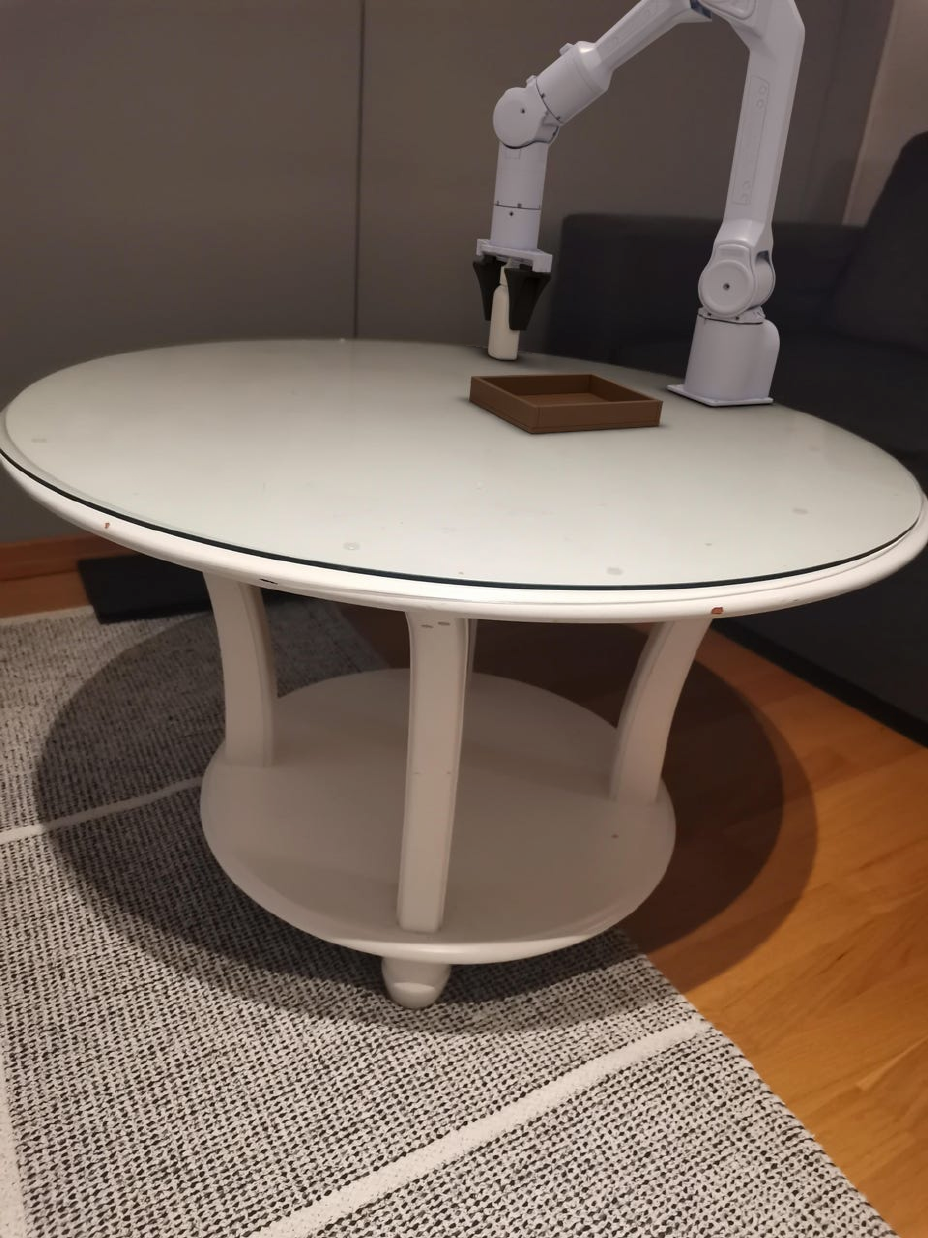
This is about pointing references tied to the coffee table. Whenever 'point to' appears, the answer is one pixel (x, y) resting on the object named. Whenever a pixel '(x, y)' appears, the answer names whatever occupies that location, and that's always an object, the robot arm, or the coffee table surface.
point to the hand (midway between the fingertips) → (505, 325)
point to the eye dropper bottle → (502, 322)
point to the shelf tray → (564, 402)
